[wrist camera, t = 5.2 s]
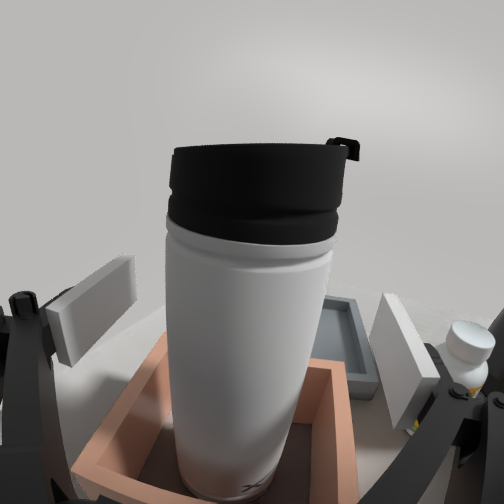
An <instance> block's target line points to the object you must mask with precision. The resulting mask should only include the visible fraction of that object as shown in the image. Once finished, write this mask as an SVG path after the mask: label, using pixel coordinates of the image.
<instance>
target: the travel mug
mask: <svg viewBox="0 0 504 504" xmlns="http://www.w3.org/2000/svg"><path fill="white" fill-rule="evenodd" d="M340 144H342V145H346V146H340ZM359 151H360V144H359V142H358V141H357V140H351V139H346V138H341V137H336V138H330V139H328V140H327V142H326V144H325V145H322V144H292V143H291V144H290V143H289V144H287V143H255V144H254V143H252V144H251V143H250V144H220V145H204V146H203V145H202V146H188V147H178V148H175V149H174V155H172V162H171V173H170V182H169V187H170V188H171V189H172V195H170V198H169V202H168V212H167V216H166V228H167V230H168V233H167V236H166V264H165V268H166V270H165V271H166V273H165V274H166V325H167V348H168V366H169V380H170V393H171V405H172V415H173V425H174V434H175V443H176V451H177V459H178V466H179V473H180V476H181V479H182V481H183V483H184V485H185V486H186V488H187V489H188V490H189V491H190V492H191V493H192V494H194V495H195V496H196V497H198V498H199V499H201V500H204V501H208V502H213V503H217V504H247V503H250V502H252V501H254V500H256V499H257V498H259V497H260V496H261V495H263V494H264V493H265V492H266V490H267V489H268V488H269V486H270V484H271V482H272V480H273V477H274V474H275V471H276V469H277V466H278V463H279V460H280V457H281V454H282V451H283V448H284V445H285V442H286V439H287V436H288V432H289V429H290V426H291V423H292V419H293V416H294V413H295V410H296V406H297V403H298V399H299V396H300V392H301V389H302V385H303V382H304V378H305V374H306V371H307V367H308V363H309V360H310V356H311V352H312V348H313V344H314V340H315V336H316V332H317V328H318V324H319V319H320V315H321V311H322V306H323V302H324V297H325V293H326V288H327V284H328V279H329V274H330V269H331V264H332V259H333V253H332V252H333V251H332V249H333V247H334V245H335V243H336V238H337V224H338V214H337V212H336V211H337V208H338V207H339V206H340V204H341V200H342V187H343V177H344V168H345V162H346V159H349V160H353V161H359Z"/></svg>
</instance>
